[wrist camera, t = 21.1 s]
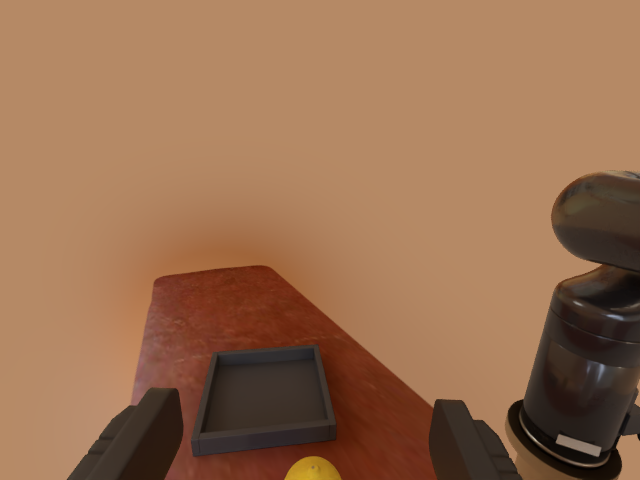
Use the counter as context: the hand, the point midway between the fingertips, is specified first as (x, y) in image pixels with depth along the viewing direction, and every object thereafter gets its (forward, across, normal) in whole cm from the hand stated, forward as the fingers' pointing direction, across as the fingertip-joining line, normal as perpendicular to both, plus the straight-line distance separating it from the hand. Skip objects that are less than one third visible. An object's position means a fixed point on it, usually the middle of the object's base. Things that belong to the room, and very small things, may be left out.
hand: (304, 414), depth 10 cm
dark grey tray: (+26, +7, +25) cm, 37 cm away
